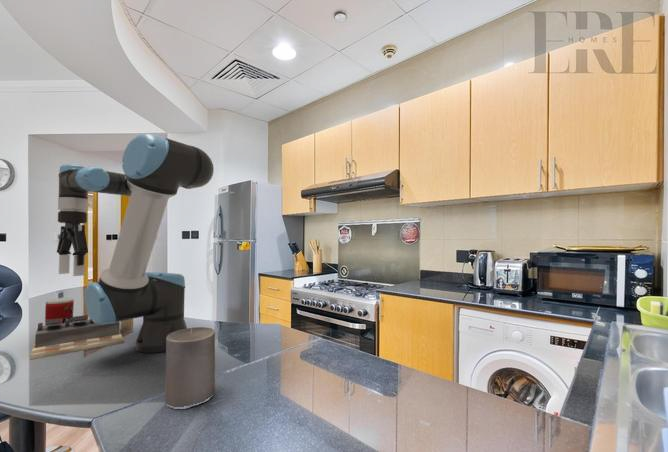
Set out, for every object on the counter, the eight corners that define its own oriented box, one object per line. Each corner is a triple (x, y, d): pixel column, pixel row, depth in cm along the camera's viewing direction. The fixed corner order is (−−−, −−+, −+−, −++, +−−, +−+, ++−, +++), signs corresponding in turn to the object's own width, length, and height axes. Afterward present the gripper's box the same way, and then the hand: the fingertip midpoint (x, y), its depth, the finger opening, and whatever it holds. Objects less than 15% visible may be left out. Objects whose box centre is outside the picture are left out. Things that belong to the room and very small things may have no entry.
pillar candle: (184, 385, 72) (185, 320, 73) (223, 388, 71) (223, 322, 71) (153, 408, 63) (154, 333, 63) (197, 412, 61) (198, 335, 62)
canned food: (67, 331, 115) (68, 301, 115) (40, 333, 112) (41, 302, 112) (76, 326, 122) (77, 297, 122) (50, 328, 119) (51, 299, 119)
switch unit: (123, 342, 102) (124, 320, 102) (30, 359, 88) (31, 333, 88) (117, 330, 116) (117, 310, 116) (35, 343, 101) (36, 320, 102)
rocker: (61, 322, 98) (61, 317, 99) (45, 324, 96) (46, 319, 96) (61, 323, 105) (61, 319, 105) (47, 325, 103) (47, 320, 103)
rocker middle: (87, 318, 103) (87, 314, 103) (73, 320, 100) (73, 316, 101) (86, 320, 109) (86, 316, 109) (72, 321, 107) (72, 317, 107)
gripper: (101, 209, 101) (99, 275, 100) (73, 214, 115) (71, 271, 114) (72, 207, 95) (70, 277, 94) (46, 212, 109) (44, 273, 108)
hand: (71, 274), depth 104 cm, fingers open, 13 cm apart
